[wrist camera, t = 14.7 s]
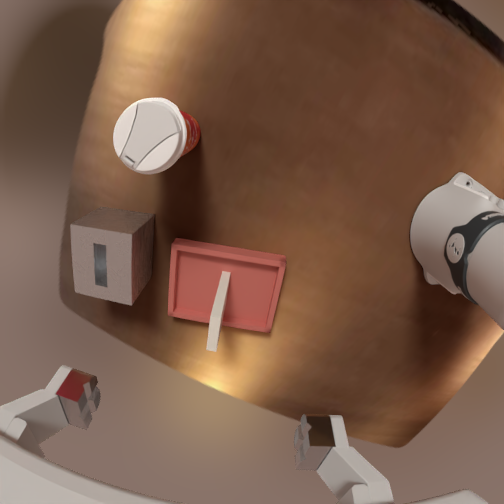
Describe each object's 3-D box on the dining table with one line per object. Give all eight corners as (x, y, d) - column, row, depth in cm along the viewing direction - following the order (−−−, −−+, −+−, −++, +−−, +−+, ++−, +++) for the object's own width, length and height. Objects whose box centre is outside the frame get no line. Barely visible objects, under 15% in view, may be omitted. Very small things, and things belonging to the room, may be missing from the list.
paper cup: (186, 171, 42) (153, 191, 29) (143, 140, 41) (95, 148, 28) (220, 126, 40) (201, 124, 27) (176, 94, 38) (138, 81, 25)
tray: (285, 255, 46) (286, 262, 44) (269, 323, 51) (270, 332, 48) (176, 237, 46) (171, 243, 44) (171, 307, 50) (167, 315, 48)
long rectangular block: (230, 272, 46) (220, 318, 35) (226, 301, 48) (216, 351, 37) (222, 271, 46) (210, 316, 35) (218, 300, 48) (206, 349, 37)
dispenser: (155, 214, 45) (131, 234, 36) (151, 276, 48) (131, 305, 40) (100, 206, 44) (70, 224, 36) (101, 266, 48) (75, 292, 40)
